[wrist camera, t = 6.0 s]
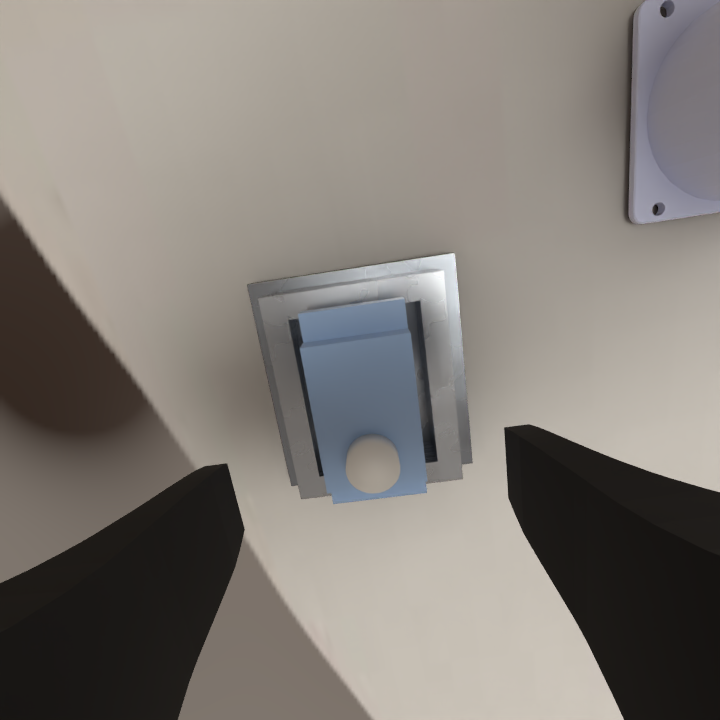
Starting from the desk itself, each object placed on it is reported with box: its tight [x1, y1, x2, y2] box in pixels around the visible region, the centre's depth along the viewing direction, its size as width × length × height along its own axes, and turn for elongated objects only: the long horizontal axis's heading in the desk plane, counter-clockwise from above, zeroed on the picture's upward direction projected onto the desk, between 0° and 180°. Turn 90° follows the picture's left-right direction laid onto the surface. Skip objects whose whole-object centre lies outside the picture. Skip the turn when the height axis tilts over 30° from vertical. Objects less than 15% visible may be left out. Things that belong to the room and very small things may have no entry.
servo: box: [298, 297, 427, 504], centre depth 16 cm, size 4×7×6 cm, turn 8°
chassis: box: [247, 253, 473, 499], centre depth 18 cm, size 9×10×3 cm
